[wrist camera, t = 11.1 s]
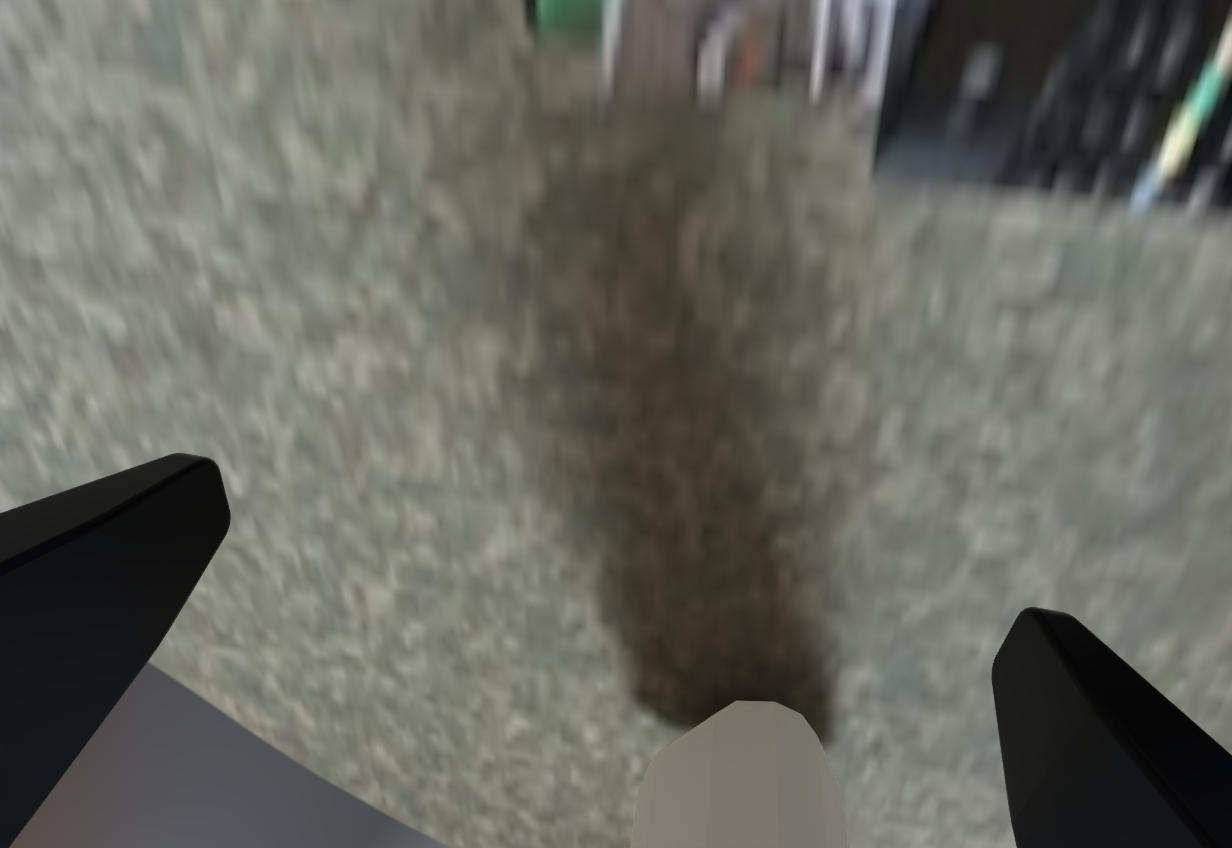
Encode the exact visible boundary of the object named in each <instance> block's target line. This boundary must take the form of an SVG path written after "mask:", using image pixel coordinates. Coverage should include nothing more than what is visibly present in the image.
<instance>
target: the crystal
mask: <svg viewBox="0 0 1232 848" xmlns="http://www.w3.org/2000/svg"><path fill="white" fill-rule="evenodd" d="M630 848H849V845H848V836H847V826H846V817H845V807H844V798H843V791H842V789H841V787H840V785H839V782H838V780H837V778H836V776H835V774H834V771H833V769H832V767H831V765H830V763H829V760H828V758H827V756H826V754H825V752H824V750H823V747H822V745H821V743H820V741H819V739H818V736H817V735H816V733H815V732H814V731H813V729H812V728H811V726H810V725H809V724H808V722H807V721H806V720H805V718H804V717H803V715H802V714H800V713H798V712H796V711H794V710H792V709H790V708H787V707H785V706H783V705H781V704H779V703H777V702H767V701H735V702H733V703H732V704H730V705H728V706H727V707H725V708H724V709H722V710H720V711H719V712H717V713H715V714H714V715H712V716H711V717H709V718H708V719H707V720H705V721H704V722H702V723H701V724H699V725H698V726H696V727H695V728H693V729H692V730H690V731H689V732H687V733H686V734H684V735H683V736H682V737H680V738H679V739H677V740H676V741H674V742H673V743H671V744H670V745H668V746H667V747H665V748H664V749H662V750H661V751H659V752H658V753H657V754H656V755H655V756H654V757H652V759H651V761H650V764H649V766H648V769H647V771H646V774H645V776H644V778H643V781H642V783H641V786H640V788H639V790H638V797H637V804H636V810H635V817H634V824H633V831H632V837H631V844H630Z"/></svg>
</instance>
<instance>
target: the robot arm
mask: <svg viewBox="0 0 1232 848" xmlns="http://www.w3.org/2000/svg"><path fill="white" fill-rule="evenodd" d="M230 518H231V514H230V509H229V505H228V501H227V497H226V493H225V489H224V485H223V481H222V477H221V473H220V469H219V467H218V465H217V464H216V463H215V462H214V460H212V459H210V458H207V457H202V456H196V455H191V454H185V453H175V454H171V455H168V456H165V457H162V458H159V459H156V460H153V461H151V462H148V463H145V464H142V465H139V466H136V467H133V468H130V469H127V470H124V471H122V472H119V473H116V474H113V475H110V476H107V477H104V478H101V479H98V480H95V481H93V482H90V483H87V484H84V485H81V486H78V487H75V488H72V489H69V490H66V491H64V492H61V493H58V494H55V495H52V496H49V497H46V498H43V499H40V500H37V501H34V502H32V503H29V504H26V505H23V506H20V507H17V508H14V509H11V510H8V511H5V512H3V513H0V848H9V847H10V846H11V845H12V844H13V842H14V841H15V840H16V838H17V837H18V836H19V834H20V833H21V831H22V830H23V829H24V827H25V826H26V825H27V823H28V822H29V821H30V819H31V818H32V817H33V815H34V814H35V813H36V811H37V810H38V809H39V807H40V806H41V805H42V803H43V802H44V800H45V799H46V798H47V796H48V795H49V794H50V792H51V791H52V790H53V788H54V787H55V786H56V784H57V783H58V782H59V780H60V779H61V778H62V776H63V775H64V774H65V772H66V771H67V770H68V768H69V767H70V766H71V764H72V763H73V762H74V760H75V759H76V757H77V756H78V755H79V753H80V752H81V750H82V749H83V748H84V747H85V745H86V744H87V743H88V741H89V740H90V739H91V737H92V736H93V735H94V733H95V732H96V730H97V729H98V728H99V727H100V725H101V724H102V723H103V721H104V720H105V718H106V717H107V716H108V714H109V713H110V712H111V710H112V709H113V708H114V706H115V705H116V704H117V702H118V701H119V700H120V698H121V697H122V695H123V694H124V693H125V692H126V690H127V689H128V687H129V686H130V685H131V683H132V682H133V681H134V679H135V678H136V677H137V675H138V674H139V673H140V671H141V670H142V669H143V667H144V666H145V665H146V663H147V662H148V660H149V659H150V658H151V656H152V655H153V653H154V652H155V650H156V649H157V648H158V646H159V645H160V643H161V642H162V640H163V638H164V637H165V635H166V634H167V632H168V631H169V629H170V628H171V626H172V624H173V623H174V621H175V619H176V618H177V616H178V614H179V613H180V611H181V609H182V608H183V606H184V604H185V603H186V601H187V599H188V598H189V596H190V594H191V593H192V591H193V589H194V588H195V586H196V584H197V583H198V581H199V579H200V578H201V576H202V574H203V573H204V571H205V569H206V568H207V566H208V564H209V563H210V561H211V559H212V558H213V556H214V554H215V553H216V551H217V549H218V548H219V546H220V544H221V543H222V541H223V539H224V538H225V536H226V534H227V531H228V529H229V525H230ZM992 686H993V694H994V701H995V709H996V716H997V723H998V731H999V738H1000V746H1001V753H1002V761H1003V768H1004V776H1005V783H1006V791H1007V798H1008V805H1009V811H1010V817H1011V823H1012V828H1013V832H1014V837H1015V841H1016V846H1017V848H1232V755H1231V754H1230V753H1229V752H1227V751H1226V750H1225V749H1224V748H1223V747H1222V746H1221V745H1219V744H1218V743H1217V742H1216V741H1215V740H1214V739H1213V738H1211V737H1210V736H1209V735H1208V734H1207V733H1206V732H1205V731H1204V730H1202V729H1201V728H1200V727H1199V726H1198V725H1197V724H1196V723H1194V722H1193V721H1192V720H1191V719H1190V718H1189V717H1188V716H1186V715H1185V714H1184V713H1183V712H1182V711H1181V710H1180V709H1178V708H1177V707H1176V706H1175V705H1174V704H1173V703H1172V702H1170V701H1169V700H1168V699H1167V698H1166V697H1165V696H1164V695H1162V694H1161V693H1160V692H1159V691H1158V690H1157V689H1156V688H1154V687H1153V686H1152V685H1151V684H1150V683H1149V682H1148V681H1147V680H1145V679H1144V678H1143V677H1142V676H1141V675H1140V674H1139V673H1137V672H1136V671H1135V670H1134V669H1133V668H1132V667H1131V666H1129V665H1128V664H1127V663H1126V662H1125V661H1124V660H1123V659H1121V658H1120V657H1119V656H1118V655H1117V654H1116V653H1115V652H1113V651H1112V650H1111V649H1110V648H1109V647H1108V646H1107V645H1105V644H1104V643H1103V642H1102V641H1101V640H1100V639H1099V638H1098V637H1096V636H1095V635H1094V634H1093V633H1092V632H1091V631H1090V630H1088V629H1087V628H1086V627H1085V626H1084V625H1083V624H1082V623H1080V622H1079V621H1078V620H1077V619H1076V618H1074V617H1073V616H1071V615H1070V614H1067V613H1064V612H1059V611H1054V610H1048V609H1043V608H1037V607H1029V608H1026V609H1024V610H1023V611H1021V612H1020V614H1019V615H1018V617H1017V618H1016V620H1015V622H1014V624H1013V626H1012V628H1011V629H1010V631H1009V633H1008V635H1007V637H1006V638H1005V640H1004V642H1003V644H1002V646H1001V648H1000V649H999V651H998V653H997V655H996V657H995V659H994V663H993V667H992Z"/></svg>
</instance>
